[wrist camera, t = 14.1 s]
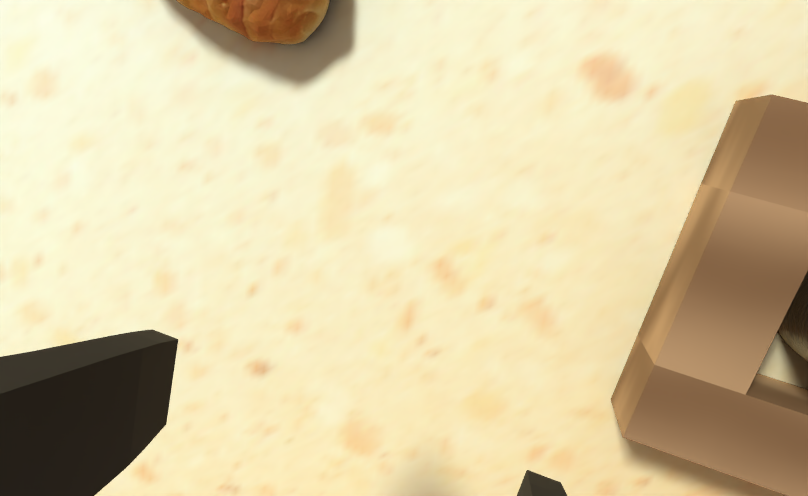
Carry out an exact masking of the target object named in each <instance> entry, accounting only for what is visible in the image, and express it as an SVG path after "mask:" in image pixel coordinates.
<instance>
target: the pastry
mask: <svg viewBox="0 0 808 496" xmlns="http://www.w3.org/2000/svg"><path fill="white" fill-rule="evenodd" d="M176 1H178V2H179V3H180V4H182V5H183V6H185V7H187V8H189V9H191V10H193V11H196V12H198V13H200V14H202V15H203V16H205V17H206V18H208V19H210V20H213V21H215V22H217V23H220V24H222V25H224V26H225V27H227V28H228V29H230V30H233V31H235V32H237V33H240V34H241V35H243V36H245V37H247V38H248V39H250V40H252V41H258V42H273V43H280V44H297V43H301V42H303V41H305V40H306V39H307V38H308V37H309V36H310V34H311V33H313V32H314V31H315V30H316V28H317V27H318V26H319V25H320V23H321V22H322V20H323V19H324V17H325V14H326V12H327V9H328V6H329V2H330V0H176Z"/></svg>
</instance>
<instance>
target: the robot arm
mask: <svg viewBox="0 0 808 496" xmlns="http://www.w3.org/2000/svg"><path fill="white" fill-rule="evenodd" d="M177 344H178V339H176V338H173V337H171V336H168V335H165V334H163V333H160V332H157V331H155V330H145V331H137V332H130V333H124V334H119V335H113V336H108V337H103V338H98V339H93V340H88V341H83V342H78V343H73V344H68V345H62V346H57V347H52V348H47V349H42V350H37V351H32V352H27V353H21V354H15V355H9V356H3V357H0V496H94V495H95V494H97V493H98V492H99V491H100V490H101V489H102V488H103V487H105V486H106V485H107V484H108V483H109V482H110V481H112V480H113V479H114V478H115V477H116V476H117V475H118V474H119V473H121V472H122V471H123V470H124V469H125V468H126V467H127V466H128V465H129V464H130V463H131V462H132V461H133V460H134V459H135V458H136V457H137V456H138V455H139V454H140V453H141V452H142V451H143V450H144V449H145V447H146V446H147V445H148V444H149V443H150V442H151V441H152V440H153V438H154V437H155V436H156V435H157V434H158V433H159V432H160V430H161V429H162V428H163V427H164V426H165V425H166V422H167V415H168V407H169V400H170V393H171V386H172V379H173V372H174V365H175V358H176V351H177ZM517 496H567V494H566V492H565V490H564V488H563V486H562V484H561V482H558V481H555V480H553V479H550V478H547V477H545V476H542V475H539V474H537V473H534V472H531V471H529V470H527V471H526V474H525V476H524V479H523V481H522V484H521V487H520V489H519V492H518V494H517Z"/></svg>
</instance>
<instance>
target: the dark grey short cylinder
mask: <svg viewBox="0 0 808 496" xmlns="http://www.w3.org/2000/svg"><path fill="white" fill-rule="evenodd" d="M778 331H779V333H780V335H781V337H782V338H783V340H784V341H785V342H786V343H787V344H788V345H789V346H790V347H791V348H792V349H793V350H794V351H795V352H797V353H798V354H799V355H800V356H802V357H803V358H804V359H806V360H807V361H808V271H807V273H806V275H805V277H804V279H803V281H802V283H801V285H800V287H799V289H798V291H797V293H796V295H795V297H794V299H793V301H792V303H791V305H790V307H789V309H788V311H787V313H786V315H785V317H784V319H783V321H782V323H781V325H780V327H779V329H778Z"/></svg>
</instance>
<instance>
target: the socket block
mask: <svg viewBox="0 0 808 496" xmlns="http://www.w3.org/2000/svg"><path fill="white" fill-rule="evenodd" d="M807 271H808V103H806V102H801V101H797V100H793V99H789V98H784V97H780V96H776V95H767V96H761V97H756V98H750V99H744V100H738V101H736V102H735V104H734V107H733V109H732V112H731V114H730V116H729V119H728V121H727V123H726V126H725V128H724V131H723V133H722V135H721V138H720V140H719V143H718V145H717V147H716V150H715V152H714V154H713V157H712V159H711V162H710V164H709V166H708V169H707V171H706V174H705V176H704V178H703V181H702V183H701V185H700V188H699V190H698V193H697V195H696V197H695V200H694V202H693V205H692V207H691V209H690V212H689V214H688V217H687V219H686V221H685V224H684V226H683V228H682V231H681V233H680V236H679V238H678V240H677V243H676V245H675V248H674V250H673V252H672V255H671V257H670V259H669V262H668V264H667V267H666V269H665V271H664V274H663V276H662V279H661V281H660V283H659V286H658V288H657V290H656V293H655V295H654V298H653V300H652V302H651V305H650V307H649V310H648V312H647V314H646V317H645V319H644V321H643V324H642V326H641V329H640V331H639V333H638V336H637V338H636V341H635V343H634V345H633V348H632V350H631V353H630V355H629V357H628V360H627V362H626V364H625V367H624V369H623V372H622V374H621V376H620V379H619V381H618V384H617V386H616V388H615V391H614V393H613V395H612V398H611V402H612V405H613V408H614V411H615V414H616V417H617V421H618V424H619V427H620V430H621V433H622V436H623V437H624V438H626V439H629V440H632V441H635V442H638V443H640V444H643V445H646V446H649V447H652V448H654V449H657V450H660V451H663V452H666V453H669V454H671V455H674V456H677V457H680V458H683V459H685V460H688V461H691V462H694V463H697V464H699V465H702V466H705V467H708V468H711V469H713V470H716V471H719V472H722V473H725V474H728V475H730V476H733V477H736V478H739V479H742V480H744V481H747V482H750V483H753V484H756V485H758V486H761V487H764V488H767V489H770V490H773V491H775V492H778V493H781V494H784V495H787V496H808V390H807V389H804V388H801V387H798V386H794V385H791V384H788V383H785V382H782V381H779V380H776V379H773V378H770V377H767V376H763V375H760V374H757V371H758V369H759V367H760V365H761V363H762V361H763V359H764V357H765V355H766V353H767V351H768V349H769V347H770V345H771V343H772V341H773V339H774V337H775V335H776V333H777V331H778V329H779V327H780V325H781V323H782V321H783V319H784V317H785V315H786V313H787V311H788V309H789V307H790V305H791V303H792V301H793V299H794V297H795V295H796V293H797V291H798V289H799V287H800V285H801V283H802V281H803V279H804V277H805V275H806V273H807Z"/></svg>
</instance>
